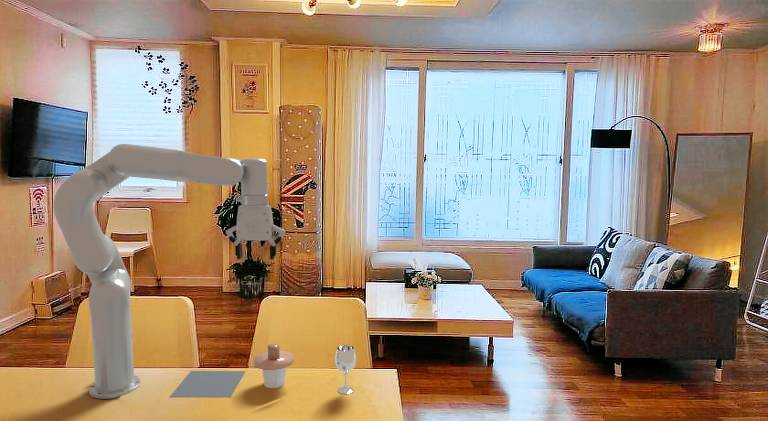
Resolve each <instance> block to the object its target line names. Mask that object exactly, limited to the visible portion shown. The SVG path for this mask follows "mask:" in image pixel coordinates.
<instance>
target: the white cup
mask: <svg viewBox="0 0 768 421" xmlns="http://www.w3.org/2000/svg"><path fill="white" fill-rule="evenodd" d="M261 370H262V376H263V377H262V378H263V384H264V385H263V386H264V387H265V388H268V389H279V388H281V387H283V386H284V385H285V384H286V376H287V375H286V374H287V373H286V372H287V367H286V368H282V369H277V370H263V369H261Z"/></svg>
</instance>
